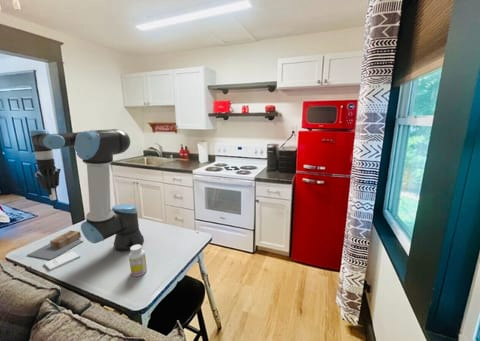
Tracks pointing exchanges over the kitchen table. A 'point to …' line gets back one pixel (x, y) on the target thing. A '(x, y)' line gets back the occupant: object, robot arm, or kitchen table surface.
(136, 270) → the supplement bottle
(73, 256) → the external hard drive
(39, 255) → the mat
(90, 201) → the robot arm
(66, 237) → the brown box
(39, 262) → the kitchen table surface
